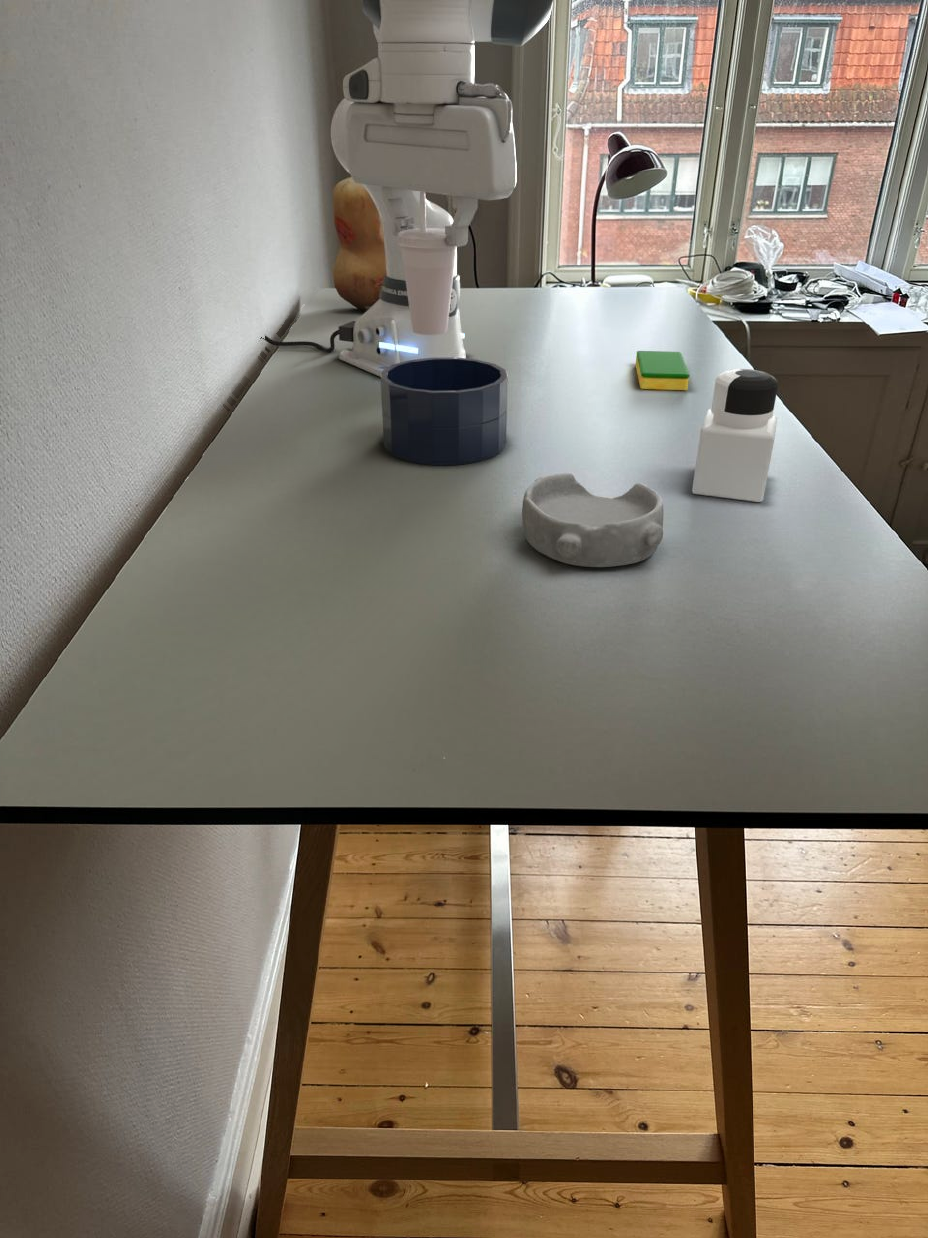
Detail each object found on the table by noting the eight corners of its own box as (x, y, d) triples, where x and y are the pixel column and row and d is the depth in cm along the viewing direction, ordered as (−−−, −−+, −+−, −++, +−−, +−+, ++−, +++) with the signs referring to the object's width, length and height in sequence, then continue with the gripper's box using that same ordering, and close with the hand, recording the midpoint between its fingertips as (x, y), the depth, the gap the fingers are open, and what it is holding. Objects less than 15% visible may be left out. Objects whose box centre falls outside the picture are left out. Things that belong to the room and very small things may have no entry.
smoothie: (399, 323, 97) (395, 181, 90) (457, 322, 98) (458, 181, 90) (400, 338, 92) (396, 189, 84) (462, 337, 92) (463, 189, 85)
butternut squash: (323, 308, 184) (312, 174, 171) (374, 299, 191) (368, 170, 178) (364, 319, 175) (356, 178, 162) (416, 309, 183) (412, 174, 170)
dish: (519, 512, 96) (521, 469, 93) (648, 514, 95) (653, 470, 93) (523, 576, 83) (524, 527, 81) (671, 578, 83) (677, 529, 80)
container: (765, 478, 104) (786, 367, 97) (762, 503, 98) (784, 387, 91) (698, 470, 106) (714, 361, 100) (691, 494, 100) (707, 379, 93)
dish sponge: (679, 366, 146) (681, 351, 145) (687, 390, 134) (689, 374, 133) (635, 364, 147) (636, 350, 145) (640, 389, 135) (641, 373, 134)
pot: (359, 444, 114) (354, 374, 109) (443, 416, 124) (442, 350, 119) (446, 475, 105) (445, 400, 100) (530, 442, 115) (532, 372, 110)
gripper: (534, 83, 79) (527, 249, 86) (379, 78, 90) (384, 225, 98) (487, 83, 75) (484, 258, 82) (330, 79, 86) (340, 232, 94)
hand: (428, 240), depth 90 cm, fingers closed on smoothie, 6 cm apart
